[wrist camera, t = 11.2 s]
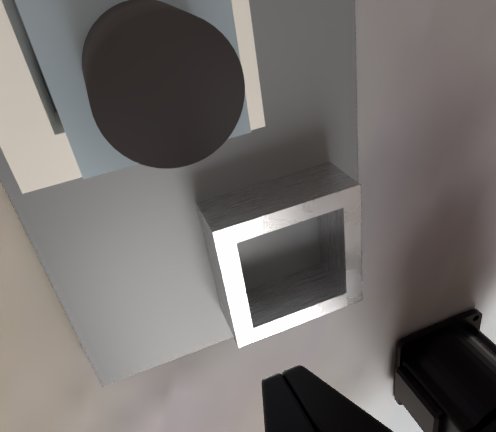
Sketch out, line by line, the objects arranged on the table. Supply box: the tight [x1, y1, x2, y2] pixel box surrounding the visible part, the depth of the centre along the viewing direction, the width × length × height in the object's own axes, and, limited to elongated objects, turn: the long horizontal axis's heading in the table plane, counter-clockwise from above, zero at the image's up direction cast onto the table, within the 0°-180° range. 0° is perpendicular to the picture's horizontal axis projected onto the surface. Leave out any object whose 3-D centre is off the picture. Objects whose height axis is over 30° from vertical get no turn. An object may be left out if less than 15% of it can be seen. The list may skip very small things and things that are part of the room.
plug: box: [15, 0, 251, 180], centre depth 11 cm, size 3×3×10 cm
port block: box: [0, 0, 265, 194], centre depth 14 cm, size 8×8×3 cm
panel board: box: [0, 0, 358, 387], centre depth 18 cm, size 14×22×1 cm, turn 8°
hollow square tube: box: [196, 162, 362, 347], centre depth 20 cm, size 6×6×2 cm
